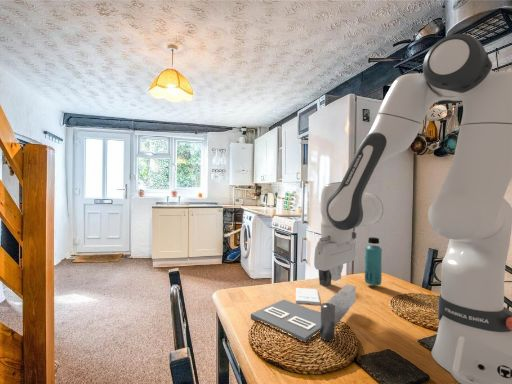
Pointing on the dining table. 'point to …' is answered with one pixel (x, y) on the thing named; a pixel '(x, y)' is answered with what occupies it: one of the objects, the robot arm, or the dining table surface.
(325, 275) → the beverage cup
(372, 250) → the beverage bottle
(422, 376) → the dining table surface
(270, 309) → the label panel
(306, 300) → the external hard drive
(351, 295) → the grey rectangular block
